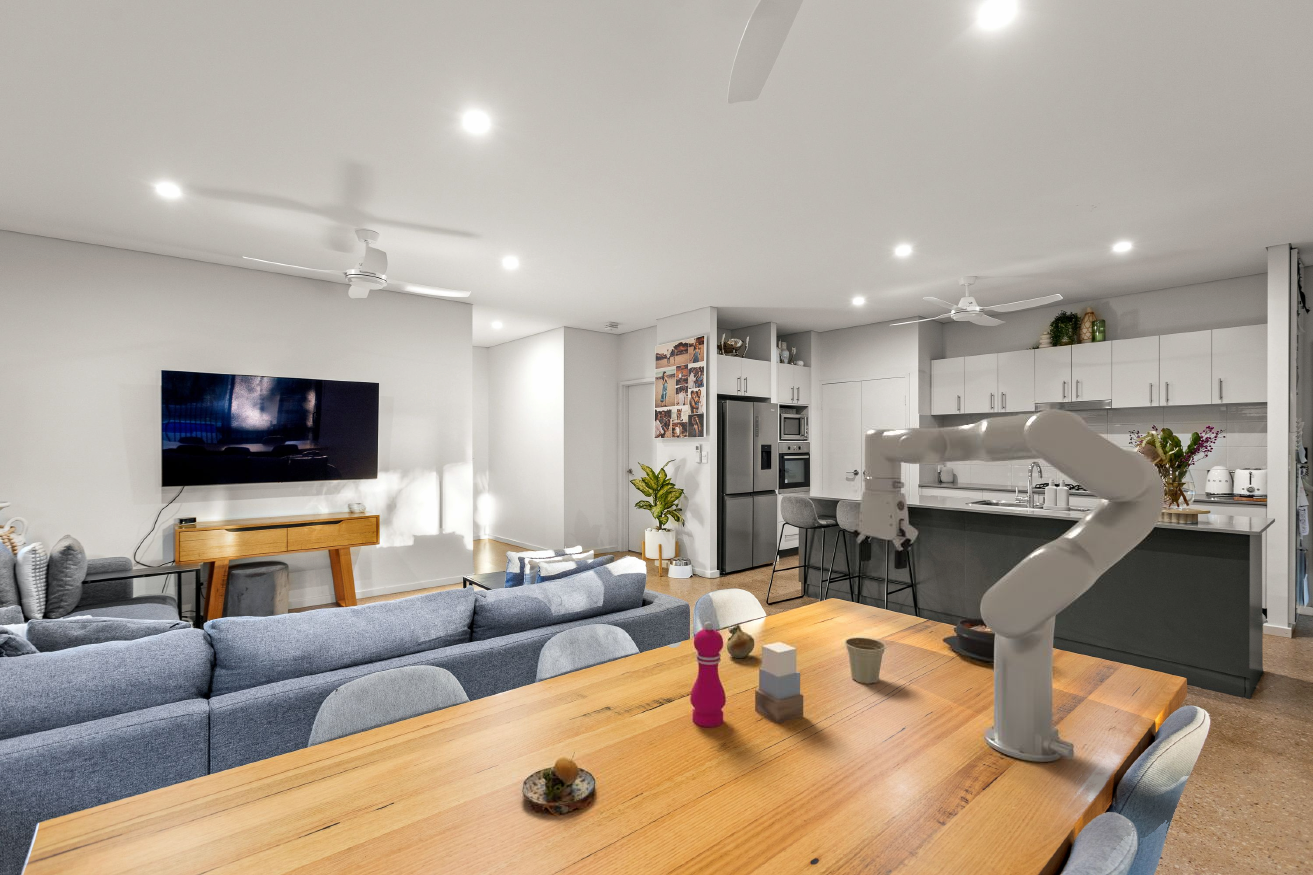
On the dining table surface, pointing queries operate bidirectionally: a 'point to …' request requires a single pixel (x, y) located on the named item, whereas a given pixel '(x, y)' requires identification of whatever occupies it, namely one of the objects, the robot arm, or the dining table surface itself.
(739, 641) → the onion
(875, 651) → the flower pot
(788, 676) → the slate block
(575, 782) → the small plate of food
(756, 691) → the walnut block
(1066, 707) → the dining table surface
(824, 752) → the dining table surface
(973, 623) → the casserole
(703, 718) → the pepper mill
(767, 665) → the cream block
